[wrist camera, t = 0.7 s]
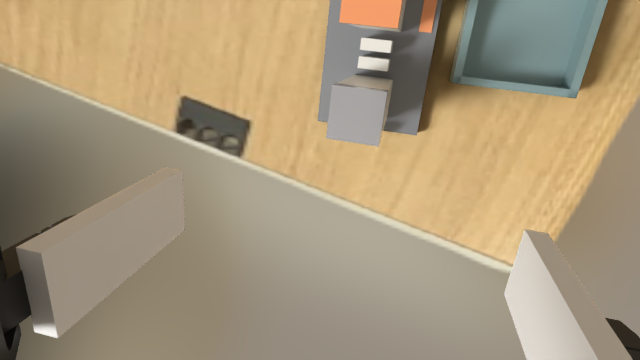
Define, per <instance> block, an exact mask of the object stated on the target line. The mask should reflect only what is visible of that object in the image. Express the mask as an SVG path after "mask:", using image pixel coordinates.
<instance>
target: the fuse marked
mask: <svg viewBox="0 0 640 360" xmlns="http://www.w3.org/2000/svg"><path fill="white" fill-rule="evenodd" d="M405 5H406V0H342V1H341V10H340V19H339V22H340V23H345V24H350V25H353V26H356V27H359V28H365V29H375V30H384V31H394V32H401V30H402V24H403V17H404V11H405Z"/></svg>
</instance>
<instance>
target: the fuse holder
mask: <svg viewBox="0 0 640 360" xmlns="http://www.w3.org/2000/svg"><path fill="white" fill-rule="evenodd" d="M341 1H342V0H330V6H329V16H328V26H327V36H326V45H325V55H324V65H323V75H322V84H321V94H320V104H319V114H318V121H323V122H328V118H329V109H330V100H331V91H332V85H333V84H335V83H339V82H341V81H343V80H345V79H347V78H348V77H350V76H352V75H362V76H370V77H378V78H386V79H393V85H392V91H391V97H390V103H389V109H388V115H387V120H386V123H385V126H384V129H383V131H390V132H397V133H404V134H410V135H417V131H418V126H419V121H420V115H421V110H422V105H423V100H424V95H425V89H426V84H427V79H428V74H429V69H430V63H431V58H432V53H433V48H434V43H435V37H436V32H437V27H438V22H439V17H440V12H441V6H442V1H443V0H406V5H405V11H404V17H403V24H402V30H401V32H394V31H384V30H375V29H365V28H359V27H356V26H353V25H350V24H345V23H340V22H339V19H340V10H341Z"/></svg>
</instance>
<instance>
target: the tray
mask: <svg viewBox="0 0 640 360" xmlns="http://www.w3.org/2000/svg"><path fill="white" fill-rule="evenodd" d="M607 2H608V0H466V5H465V9H464V14H463V19H462V24H461V28H460V33H459V38H458V42H457V47H456V52H455V57H454V61H453V66H452V71H451V76H450V81H451V82H452V83H456V84H464V85H472V86H480V87H488V88H496V89H504V90H512V91H520V92H529V93H537V94H545V95H553V96H561V97H569V98H576V97H577V94H578V91H579V88H580V85H581V82H582V79H583V76H584V73H585V70H586V67H587V63H588V60H589V57H590V54H591V51H592V48H593V45H594V42H595V39H596V36H597V33H598V30H599V27H600V23H601V20H602V17H603V14H604V11H605V8H606V5H607Z"/></svg>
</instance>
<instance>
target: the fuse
mask: <svg viewBox="0 0 640 360" xmlns="http://www.w3.org/2000/svg"><path fill="white" fill-rule="evenodd" d="M392 85H393V79H386V78H378V77H370V76H362V75H352V76H350V77H348V78H347V79H345V80H343V81H341V82H339V83H335V84H333V85H332V91H331V100H330V109H329V118H328V127H327V136H326V138H327V139H334V140H340V141H347V142H353V143H360V144H366V145H372V146H379V144H380V139H381V135H382V132H383V129H384V126H385V123H386V120H387V115H388V109H389V103H390V97H391V91H392Z"/></svg>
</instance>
